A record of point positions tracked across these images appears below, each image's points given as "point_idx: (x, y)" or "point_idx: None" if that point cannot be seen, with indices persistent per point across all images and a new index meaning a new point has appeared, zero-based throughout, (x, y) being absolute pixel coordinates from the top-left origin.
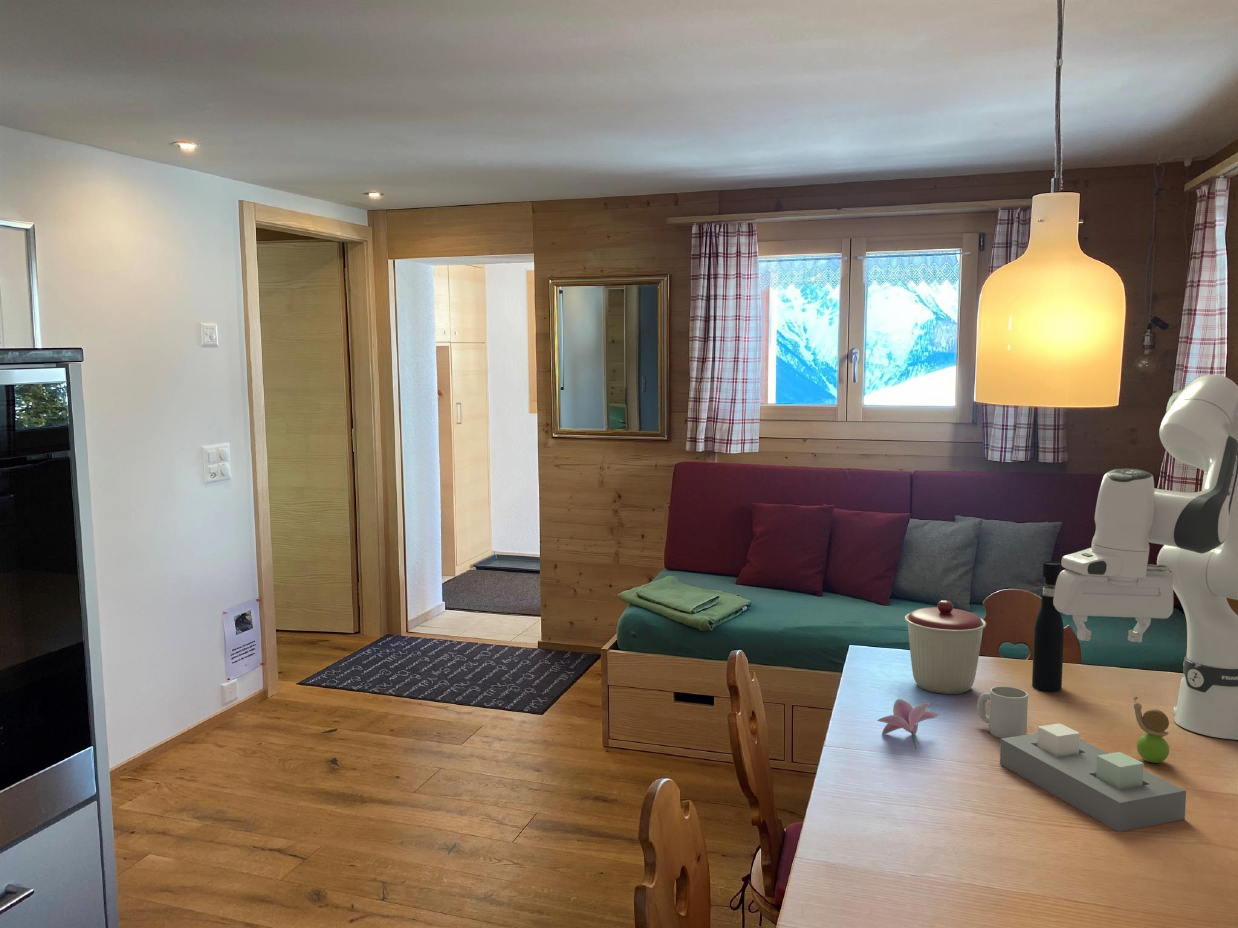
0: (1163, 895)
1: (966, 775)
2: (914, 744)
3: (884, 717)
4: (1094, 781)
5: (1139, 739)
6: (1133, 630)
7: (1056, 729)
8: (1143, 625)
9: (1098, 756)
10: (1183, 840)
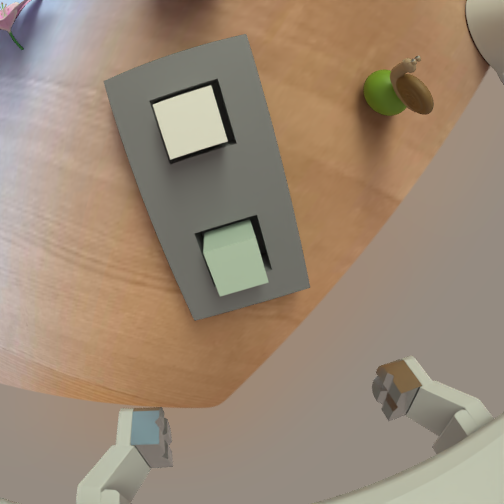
0: (182, 388)
1: (55, 135)
2: (18, 46)
3: None
4: (189, 260)
5: (376, 81)
6: (416, 391)
7: (185, 120)
8: (436, 429)
9: (204, 255)
10: (262, 313)
